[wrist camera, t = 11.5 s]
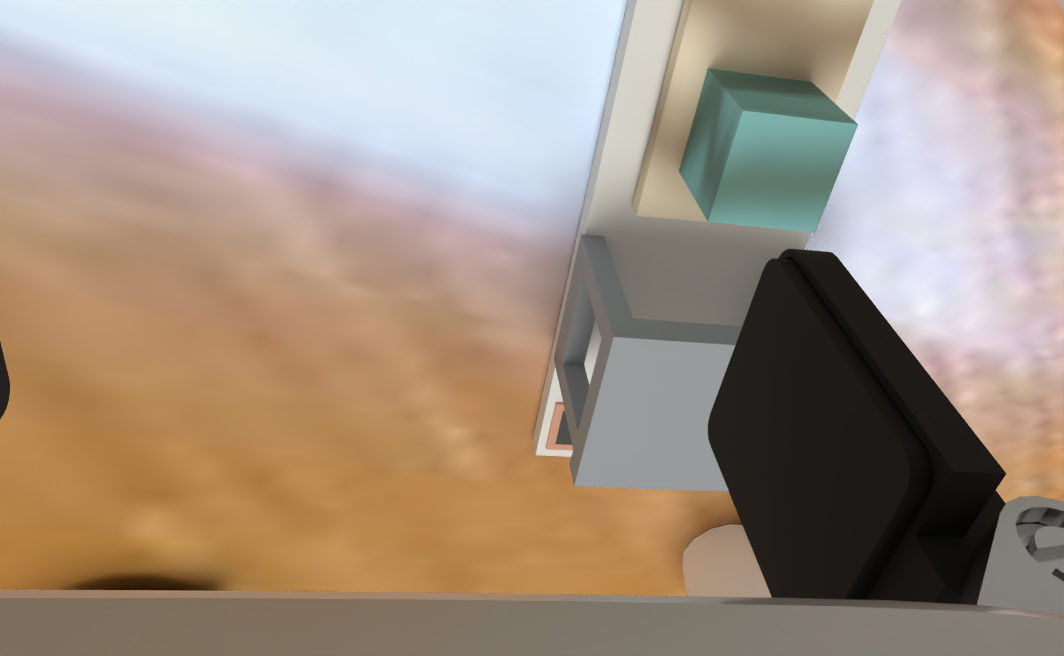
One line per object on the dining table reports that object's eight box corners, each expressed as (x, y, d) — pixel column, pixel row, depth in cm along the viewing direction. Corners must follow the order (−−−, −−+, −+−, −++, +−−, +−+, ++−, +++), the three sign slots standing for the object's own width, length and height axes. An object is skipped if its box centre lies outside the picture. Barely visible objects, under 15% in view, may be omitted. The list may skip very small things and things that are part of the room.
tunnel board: (688, -327, 32) (794, -345, 23) (992, -261, 34) (1196, -253, 25) (526, 438, 53) (548, 582, 44) (718, 446, 55) (776, 585, 47)
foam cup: (635, 568, 62) (679, 741, 51) (724, 491, 58) (791, 662, 48) (724, 608, 66) (782, 776, 55) (812, 539, 62) (893, 705, 52)
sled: (764, -315, 30) (858, -325, 24) (962, -272, 32) (1099, -270, 26) (632, 205, 42) (671, 293, 36) (780, 220, 44) (844, 307, 37)
